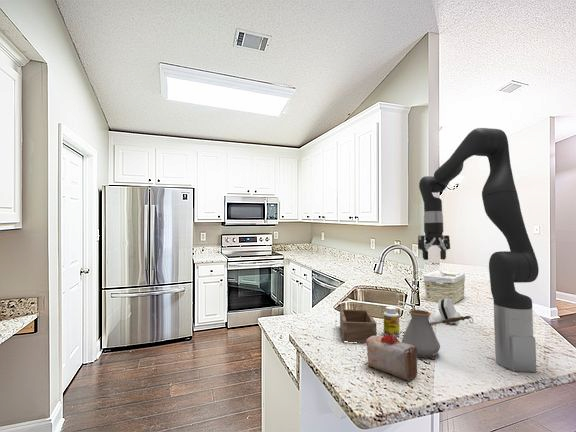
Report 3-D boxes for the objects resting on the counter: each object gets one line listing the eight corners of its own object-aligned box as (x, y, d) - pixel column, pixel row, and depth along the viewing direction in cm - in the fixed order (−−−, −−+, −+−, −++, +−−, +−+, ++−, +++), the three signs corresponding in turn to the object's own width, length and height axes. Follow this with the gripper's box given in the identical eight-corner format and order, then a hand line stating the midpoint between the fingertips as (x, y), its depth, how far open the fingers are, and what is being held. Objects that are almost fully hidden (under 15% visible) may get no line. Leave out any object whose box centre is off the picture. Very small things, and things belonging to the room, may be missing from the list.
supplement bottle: (382, 335, 112) (381, 308, 112) (385, 331, 116) (385, 305, 117) (398, 338, 109) (397, 310, 109) (400, 333, 114) (400, 306, 114)
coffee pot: (394, 351, 98) (394, 305, 98) (412, 342, 105) (412, 299, 105) (465, 376, 81) (464, 320, 82) (481, 364, 88) (480, 312, 89)
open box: (376, 343, 104) (376, 323, 104) (343, 342, 105) (343, 322, 105) (368, 327, 121) (368, 310, 121) (340, 326, 122) (339, 309, 123)
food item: (362, 367, 87) (361, 332, 87) (376, 358, 92) (375, 326, 93) (408, 384, 77) (407, 345, 77) (421, 374, 82) (420, 337, 83)
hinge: (457, 326, 122) (447, 302, 125) (445, 328, 125) (435, 304, 127) (461, 316, 136) (452, 294, 139) (450, 318, 139) (441, 297, 141)
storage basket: (454, 305, 155) (453, 277, 156) (422, 300, 167) (422, 274, 167) (466, 298, 172) (466, 272, 173) (436, 294, 184) (436, 270, 184)
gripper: (425, 221, 124) (426, 260, 123) (453, 221, 127) (455, 260, 126) (413, 222, 131) (414, 259, 130) (441, 222, 135) (442, 258, 134)
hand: (434, 259), depth 128 cm, fingers open, 8 cm apart
